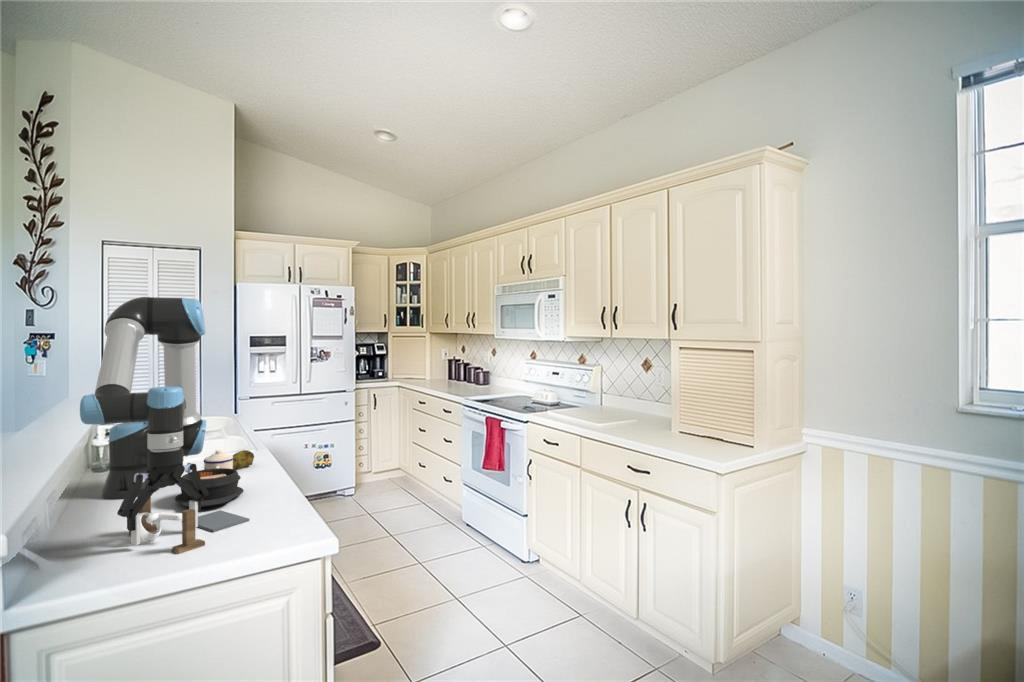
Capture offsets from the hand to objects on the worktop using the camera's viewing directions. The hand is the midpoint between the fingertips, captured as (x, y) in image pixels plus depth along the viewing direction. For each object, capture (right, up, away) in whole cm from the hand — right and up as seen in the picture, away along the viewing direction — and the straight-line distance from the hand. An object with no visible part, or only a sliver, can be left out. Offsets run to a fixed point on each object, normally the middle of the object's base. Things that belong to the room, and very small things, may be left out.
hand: (165, 534), depth 132 cm
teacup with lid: (-14, -1, +50) cm, 52 cm away
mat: (+5, -1, +13) cm, 14 cm away
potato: (-18, -1, +66) cm, 69 cm away
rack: (0, -1, 0) cm, 1 cm away
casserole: (-7, -2, +32) cm, 33 cm away
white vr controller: (-1, -2, -1) cm, 2 cm away
